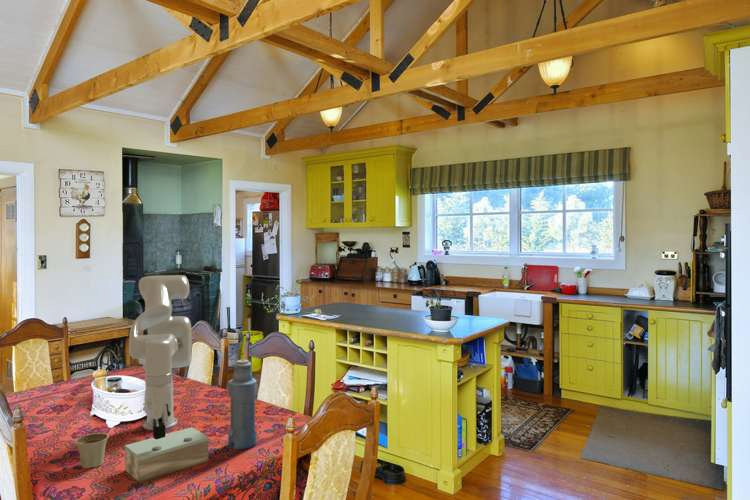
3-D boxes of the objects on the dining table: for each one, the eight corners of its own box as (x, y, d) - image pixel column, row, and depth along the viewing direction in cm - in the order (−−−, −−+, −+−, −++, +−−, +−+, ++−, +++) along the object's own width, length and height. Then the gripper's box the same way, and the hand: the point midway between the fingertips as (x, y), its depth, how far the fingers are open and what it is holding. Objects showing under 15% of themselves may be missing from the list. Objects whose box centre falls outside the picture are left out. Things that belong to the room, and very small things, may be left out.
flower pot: (84, 458, 171) (84, 433, 171) (113, 457, 172) (113, 432, 172) (70, 471, 162) (69, 444, 161) (101, 470, 162) (100, 443, 162)
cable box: (125, 470, 162) (125, 448, 162) (192, 450, 178) (191, 430, 178) (139, 483, 154) (139, 460, 154) (208, 460, 169) (208, 439, 169)
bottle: (227, 441, 185) (226, 358, 185) (254, 437, 189) (254, 356, 188) (230, 451, 176) (229, 364, 176) (259, 447, 180) (258, 362, 179)
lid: (125, 448, 162) (124, 444, 162) (191, 430, 178) (191, 426, 178) (139, 460, 153) (139, 456, 153) (208, 440, 169) (208, 436, 169)
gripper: (136, 376, 162) (137, 434, 162) (156, 386, 151) (157, 448, 152) (160, 372, 167) (161, 427, 168) (181, 381, 157) (181, 441, 157)
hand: (159, 437), depth 160 cm, fingers closed
